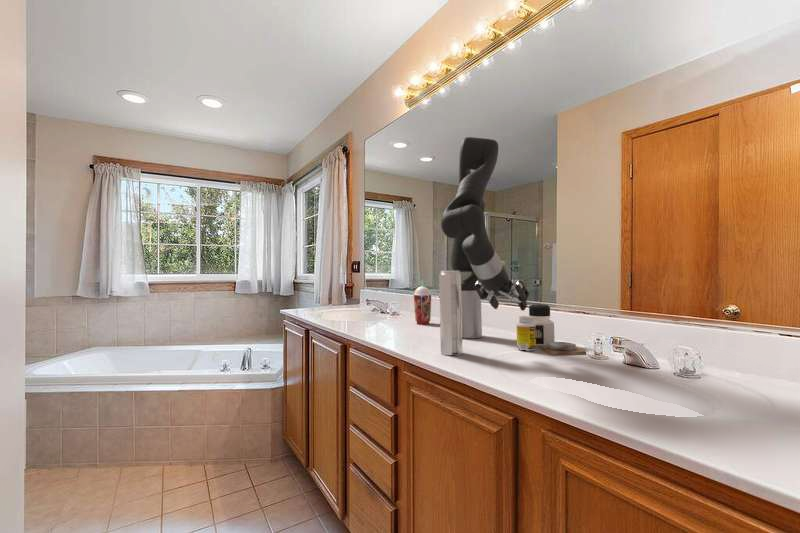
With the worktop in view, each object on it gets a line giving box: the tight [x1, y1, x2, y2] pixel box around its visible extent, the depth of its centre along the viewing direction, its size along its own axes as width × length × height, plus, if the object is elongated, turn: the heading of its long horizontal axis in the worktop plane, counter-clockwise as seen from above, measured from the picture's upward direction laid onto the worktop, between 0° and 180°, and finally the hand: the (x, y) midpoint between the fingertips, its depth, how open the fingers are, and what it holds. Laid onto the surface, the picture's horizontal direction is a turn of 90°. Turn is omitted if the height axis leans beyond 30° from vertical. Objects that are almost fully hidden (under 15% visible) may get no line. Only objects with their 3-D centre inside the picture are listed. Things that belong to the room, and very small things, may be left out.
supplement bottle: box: [516, 315, 537, 352], centre depth 120 cm, size 6×6×10 cm
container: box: [528, 303, 556, 347], centre depth 129 cm, size 8×8×13 cm
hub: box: [537, 341, 587, 356], centre depth 117 cm, size 10×10×2 cm
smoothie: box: [413, 279, 432, 326], centre depth 180 cm, size 8×8×20 cm
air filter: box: [438, 270, 464, 356], centre depth 117 cm, size 6×6×25 cm
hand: (510, 307), depth 112 cm, fingers open, 8 cm apart
